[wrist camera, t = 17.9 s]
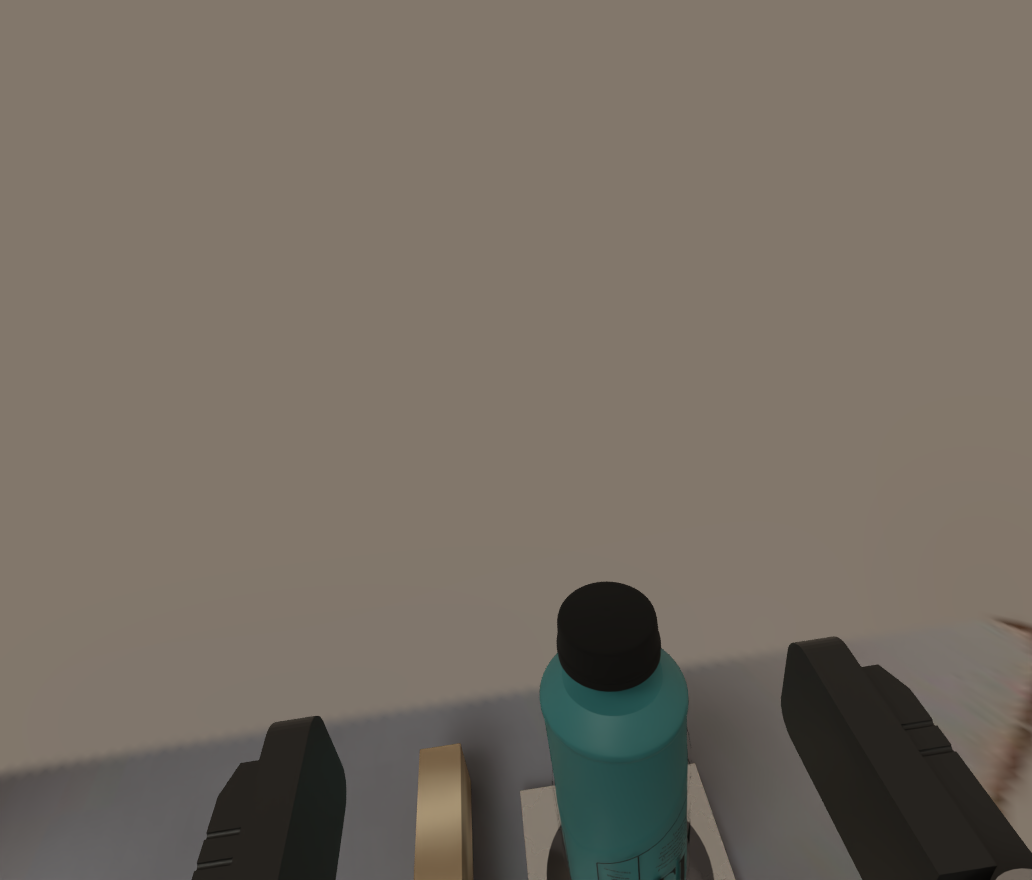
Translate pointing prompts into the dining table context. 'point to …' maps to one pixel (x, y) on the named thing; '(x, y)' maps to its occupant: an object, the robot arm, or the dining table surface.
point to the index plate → (545, 848)
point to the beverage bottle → (617, 738)
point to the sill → (443, 816)
